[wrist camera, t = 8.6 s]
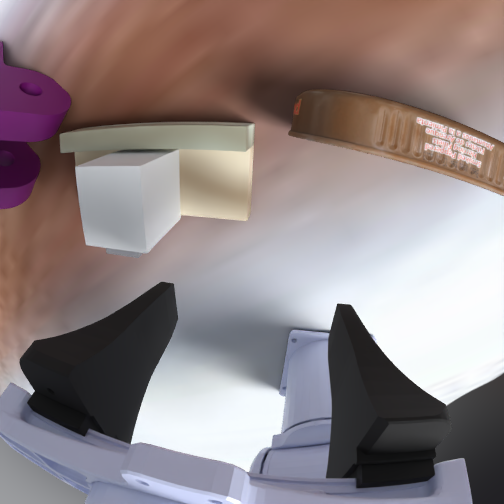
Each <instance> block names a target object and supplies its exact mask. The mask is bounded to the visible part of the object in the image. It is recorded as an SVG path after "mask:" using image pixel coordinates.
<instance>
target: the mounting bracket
mask: <svg viewBox="0 0 504 504" xmlns="http://www.w3.org/2000/svg"><path fill="white" fill-rule="evenodd" d="M70 105H71V98H70V96H69V94H68V93H67V92H66V91H65V90H64V89H63V88H62V87H61V86H60V85H59V84H58V83H56V82H55V81H54V80H53V79H52V78H50V77H48V76H46V75H44V74H41V73H39V72H36V71H32V70H28V69H23V68H18V67H12V66H8V65H6V64H4V62H3V42H1V41H0V209H7V208H12V207H15V206H18V205H20V204H22V203H23V202H24V201H26V200H27V198H28V197H29V196H30V194H31V192H32V189H33V186H34V184H35V181H36V179H37V176H38V174H39V171H40V160H39V157H38V156H37V154H36V153H35V152H34V151H33V150H32V149H31V148H30V147H29V145H28V144H27V143H26V142H37V141H43V140H46V139H49V138H51V137H52V136H53V135H55V134H56V132H57V131H58V129H59V127H60V125H61V123H62V121H63V119H64V117H65V115H66V113H67V111H68V109H69V107H70Z"/></svg>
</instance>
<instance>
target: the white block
mask: <svg viewBox="0 0 504 504" xmlns="http://www.w3.org/2000/svg"><path fill="white" fill-rule="evenodd" d="M75 171H76V181H77V189H78V197H79V205H80V212H81V218H82V224H83V230H84V236H85V241H86V245H89V246H96V247H104V248H106V252H107V253H108V254H115V255H122V256H129V257H136V258H139V257H140V256H141V255H142V254H143V253H148V252H149V251H150V250H151V249H152V248H153V247H154V246H155V245H156V244H157V243H158V241H159V240H160V239H161V238H162V237H163V236H164V235H165V234H166V233H167V232H168V231H169V230H170V229H171V228H172V227H173V226H174V225H175V224H176V223H177V222H178V221H179V220H180V219H181V212H180V175H179V149H127V150H119V151H116V152H113V153H111V154H108V155H105V156H102V157H99V158H97V159H94V160H91V161H89V162H86V163H84V164H81V165H78V166H76V167H75Z"/></svg>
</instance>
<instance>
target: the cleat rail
mask: <svg viewBox="0 0 504 504" xmlns="http://www.w3.org/2000/svg"><path fill="white" fill-rule="evenodd" d="M254 130H255V123H235V122H155V123H135V124H120V125H108V126H97V127H88V128H82V129H77V130H73V131H69V132H65V133H61V134H59V135H60V149H61V153H69V152H75V163H76V166H78V165H81V164H84V163H86V162H89V161H91V160H94V159H97V158H99V157H102V156H105V155H108V154H111V153H113V152H116V151H119V150H127V149H179V175H180V212H181V215H187V216H198V217H209V218H220V219H230V220H241V221H247V220H248V218H249V215H250V210H251V190H252V170H253V150H254Z"/></svg>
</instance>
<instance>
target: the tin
mask: <svg viewBox="0 0 504 504" xmlns="http://www.w3.org/2000/svg"><path fill="white" fill-rule="evenodd" d="M288 135H290V136H293V137H297V138H301V139H306V140H309V141H315V142H320V143H325V144H330V145H334V146H338V147H342V148H347V149H351V150H356V151H360V152H364V153H367V154H373V155H377V156H380V157H384V158H388V159H392V160H396V161H400V162H403V163H407V164H411V165H414V166H417V167H421V168H424V169H428V170H431V171H434V172H437V173H440V174H444V175H447V176H450V177H453V178H456V179H459V180H462V181H465V182H468V183H471V184H473V185H476V186H479V187H482V188H484V189H487V190H490V191H492V192H495V193H497V194H500V195H502V196H504V143H503V142H501V141H499V140H497V139H495V138H492V137H490V136H488V135H486V134H484V133H482V132H480V131H477V130H475V129H473V128H471V127H468V126H466V125H463V124H461V123H458V122H456V121H453V120H451V119H448V118H445V117H443V116H440V115H437V114H434V113H431V112H428V111H425V110H422V109H419V108H416V107H413V106H409V105H406V104H402V103H399V102H395V101H392V100H388V99H384V98H380V97H375V96H371V95H366V94H361V93H355V92H349V91H341V90H329V89H315V90H308V91H304V92H303V93H301V94H300V95H298V96H297V98H296V100H295V106H294V113H293V121H292V127H291V130H290V131H289V133H288Z"/></svg>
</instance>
